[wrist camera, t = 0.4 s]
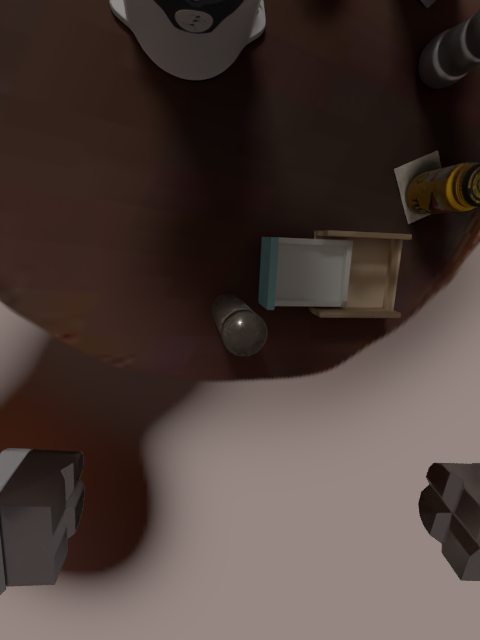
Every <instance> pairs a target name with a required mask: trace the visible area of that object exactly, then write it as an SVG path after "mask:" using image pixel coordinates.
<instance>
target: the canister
mask: <svg viewBox="0 0 480 640" xmlns="http://www.w3.org/2000/svg"><path fill="white" fill-rule="evenodd" d="M211 314H212V317H213V319H214V321H215V323H216V326H217V328H218V330H219V332H220V334H221V338H222V341H223V343H224V345H225V347H226V348H227V349H228V350H229V351H230V352H231V353H232V354H234V355H237V356H243V357H245V356H251V355H253V354H255V353H257V352H258V351H260V350H261V349H262V347H263V346H264V345H265V343H266V340H267V335H268V331H267V326H266V324H265V322H264V320H263V319H262V318H261V317H260V316H259V315H258V314H256V313H255V312H254V311H252V310H251V309H250V308H249V307H248V306H247V305H246V304H245V303H244V302H243V301H242V300H241V299H240V298H239V297H238V296H236V295H234V294H231V293H225V294H222V295H220V296H218V297H217V298H216V299H215V300H214V301H213V303H212V306H211Z"/></svg>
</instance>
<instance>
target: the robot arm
mask: <svg viewBox="0 0 480 640" xmlns="http://www.w3.org/2000/svg"><path fill="white" fill-rule="evenodd" d="M110 7H111V10H112V12H113V13H114V14H115V16H116V17H117V18H118V19H119V20H121V21H122V22H123V23H124V24H125V25H126V26H128V27H129V28H130V29H131V30H132V32H133V33H134V35H135V36H136V38H137V40H138V42H139V43H140V45H141V47H142V48H143V50H144V51H145V53H146V54H147V55H148V56H149V58H150V59H151V60H152V61H153V62H154V63H155V64H156V65H158V66H159V67H160V68H161V69H163V70H164V71H166V72H168V73H169V74H171V75H174V76H176V77H179V78H182V79H187V80H204V79H208V78H212V77H214V76H216V75H218V74H220V73H222V72H223V71H225V70H226V69H227V68H228V67H229V66H230V65H231V64H232V63H233V62H234V61H235V60H236V58H237V57H238V55H239V54H240V52H241V51H242V49H243V48H244V47H245V46H246V45H247V44H248V43H250V42H252V41H253V40H255V39H257V38H258V37H259V36H260V35H261V34H262V33H263V32H264V29H265V25H266V18H265V10H264V1H263V0H110ZM257 14H258V15H257ZM83 469H84V458H83V454H82V453H81V452H79V451H60V450H41V449H33V450H32V449H15V448H8V449H6V450H4V451H2V452H1V453H0V595H1V594H2V593H3V592H4V591H5V590H6V586H29V585H30V586H31V585H54V584H55V582H56V580H57V578H58V575H59V573H60V570H61V568H62V565H63V563H64V560H65V558H66V555H67V553H68V547H67V539H68V538H69V537H70V536H72V535H73V534H74V533H75V532H76V529H77V527H78V524H79V521H80V517H81V513H82V509H83V504H84V484H83V483H82V482H81V480H80V479H79V478H80V476H81V473H82V471H83ZM426 478H427V480H428V482H429V485H428V486H427V487H426V488H425V489H424V490H423V491H422V492H421V495H420V499H419V503H418V505H419V513H420V517H421V520H422V523H423V525H424V527H425V528H426V530H427V531H428V533H429V534H430V535H431V536H432V537H434V538H435V539H436V540H438V541H439V542H441V543H442V553H443V555H444V557H445V558H446V559H447V561H448V562H449V564H450V565H451V567H452V568H453V570H454V571H455V573H456V574H457V575H458V577H459V578H460V580H466V581H480V463H472V464H457V463H456V464H455V463H433V464H432V465H431V466H430V467H429V469H428V472H427V475H426Z"/></svg>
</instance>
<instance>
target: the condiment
mask: <svg viewBox="0 0 480 640" xmlns="http://www.w3.org/2000/svg"><path fill="white" fill-rule="evenodd" d="M394 172H395V175H396V179H397V182H398V187H399V190H400V195H401V199H402V203H403V207H404V211H405V214H406V218H407V222H408V224H410V223H412V222H415V221H417V220H419V219H421V218H423V217H426V216H428V215H430V214H438V213H448V212H463V211H468V210H472V209H473V208H475V207H480V163H472V162H466V163H461V164H457V165H453V166H449V167H445V168H442V167H441V163H440V157H439V153H438V151H435V152H433V153H430V154H428V155H426V156H424V157H421V158H419V159H416V160H414V161H412V162H409V163H407V164H405V165H402V166H400V167H398V168H396V169H394ZM409 176H410V179H409ZM408 180H409V181H408Z"/></svg>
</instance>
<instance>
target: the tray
mask: <svg viewBox="0 0 480 640" xmlns="http://www.w3.org/2000/svg"><path fill="white" fill-rule="evenodd" d="M352 247H353V241H349V240H326V239H303V238H280V237H262V242H261V260H260V279H259V298H258V303H259V304H260V305H262V306H263V307H264V308H265V309H267V310H274V307H275V306H322V307H346V303H347V294H348V284H349V275H350V266H351V256H352Z"/></svg>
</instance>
